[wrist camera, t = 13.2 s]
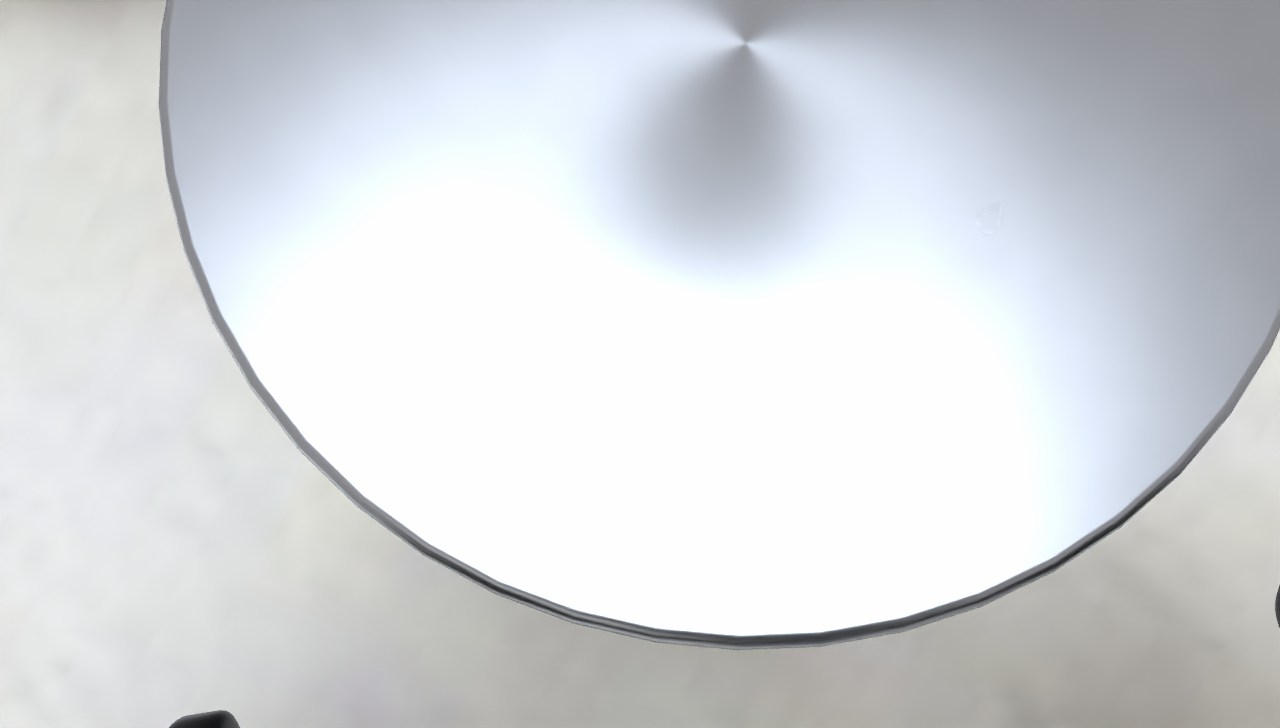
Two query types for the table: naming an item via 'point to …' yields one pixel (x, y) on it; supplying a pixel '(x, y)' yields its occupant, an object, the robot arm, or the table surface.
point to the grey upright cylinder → (736, 282)
